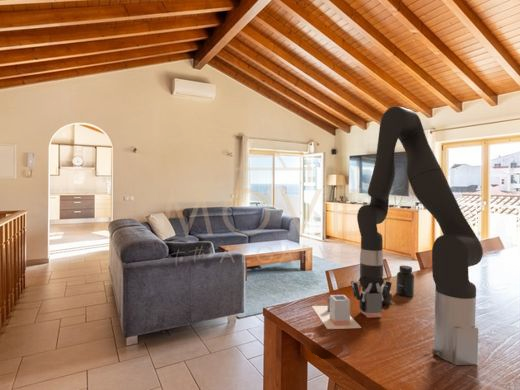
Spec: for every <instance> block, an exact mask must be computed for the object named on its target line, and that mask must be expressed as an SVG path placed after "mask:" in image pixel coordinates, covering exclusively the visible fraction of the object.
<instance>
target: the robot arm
mask: <svg viewBox="0 0 520 390" xmlns="http://www.w3.org/2000/svg"><path fill="white" fill-rule="evenodd" d="M421 120H422V119H420V116H419V115H418V113H416V112H415V111H413V110H411V109H408V108H405V107H402V106H397V105H395V106H394V105H393V106H391V107H389V108H387V110H385V111H384V112H383V115H382V117H381V119H380V122H379V123H380V124H379V128H378V129H379V130H378V137H377V138H378V140H377V147H376V153H375V154H376V155H375V160H374V166H373V171H372V173H371V177H370V181H369V186H368V188H367V195H368V196H369V197H370V202H369V204H364V205H361V206H360V208H358V210H357V214H356V220H357V225H358V231H359V233H360V253H359V278H358V280H356V281H354V280H351V281H350V283H351V284H350V285H351V288H352V289H351V290H352V292H353V297H354V298H355V299H356V300H357V301H359V309H360V312H361V311H362V312H365V311H366V302H365V300H366V293H369V292H378V293H382V310H383V308H384V306H383V300H384V299H388V297H389V293H390V290H391V288H392V284H393V283H392V282H391V281H389V280H388V279H386V280H384V277H383V276H384V253H383V252H384V251H383V249H384V248H383V247H384V246H383V245H384V244H383V241H384V240H383V235H382V234H381V232H378V226H377V225H379V224H382V223H383V222H384V221H385V220H386V218H387V216H388V213H389V205H390V204H389V200H390V198H389V197H390V194H391V192H392V188H393V184H394V181H395V176H396V167H395V166H396V164H395V150H396V146H397V143H398V140H399V142H400V143H401V145H402V148H403V149H404V152H405V154H406V159H407V160H406V175H407V178H408V182H409V185H410V187H411V189H412V193H414V196H415V197H416V198H417V200H418V202H419V203H420V204H421V205H422V206H423V207H424V209H426V210H427V211H428V212H429V213H430V215H432V216H433V218H434V219H435V220H436V222H437V223H438V225H439V227H440V230H441V232H442V235H440V236H437V238H436V239H435V240H434V241H433V244H432V249H431V266H432V267H431V269H432V270H431V271H432V273H431V274H432V279H433V282H434V285H435V291H434V293H435V296H434V329H433V331H434V332H433V341H434V342H433V349H434V351H436V352H437V353H436V352H435V355H436V356H438V357H439V358H441V359H442V360H444V361H447V362H450V363H452V364H453V365H455V366H466V365H467V366H468V365H478V353H479V351H478V350H479V348H478V347H479V345H478V342H479V328H478V327H477V326H476V307H477V306H476V305H477V303H476V302H477V287H476V285H475V283H473V282H471V281H470V279H469V278H470V277H469V276H470V275H469V267H473V266H475V265H478V264H479V263H480V262H481V261H482V259H483V256H484V250H483V246H482V244H481V242H480V240H479V238H478V235H476V233H475V231H474V230H473V228H472V227H471V224H470V223H469V222H468V220H467V218H466V217H465V216H464V214H463V213H464V212H462V210H461V208H460V205H459V203H458V201H457V198H456V197H455V194H454V193H453V191H452V189H451V186H450V185H449V182H448V180H447V178H446V176H445V173H444V171H443V169H442V167H441V166H440V165H441V164H440V163H439V161H438V160H437V158H436V156H435V153H434V152H433V149H432V148H431V145H430V144H429V141H428V139H427V136H426V132H425V130H424V126H423V124H422V121H421ZM360 285H361V288H360ZM382 285H383V286H384V287H383V291H382V292H381V289H380V288H381V286H382ZM359 288H360V291H359ZM364 290H365V292H364ZM362 312H361V313H362Z"/></svg>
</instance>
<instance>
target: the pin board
mask: <svg viewBox="0 0 520 390" xmlns="http://www.w3.org/2000/svg"><path fill="white" fill-rule="evenodd" d="M311 307H312V309H313V310H314V311H315V313H316V314H317V316H318V317H319V319H320V321H322V324H323V325H324V326H325V327H326V329H327V330H336V329H337V330H340V329H342V330H343V329H344V330H345V329H362V327H361V325H360V324H359V323H358V322H357V321H356V320H355V319H354V318H353V317H352V316H351V315H350V325H340V326H335V325H334V324H333V323H332V321H331V320H330V296H328V297H327V305H312V306H311Z"/></svg>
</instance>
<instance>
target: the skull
mask: <svg viewBox="0 0 520 390" xmlns="http://www.w3.org/2000/svg"><path fill="white" fill-rule="evenodd" d="M383 287H384V286H383V285H382V286H381V288H380V289H381V292H382V291H383ZM394 305H396V301H394V300H393V292H392V291H391V289H390V293H389V297H388V299H384V300H383V307H385V306H394Z"/></svg>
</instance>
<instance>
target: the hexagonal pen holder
mask: <svg viewBox="0 0 520 390" xmlns="http://www.w3.org/2000/svg"><path fill="white" fill-rule="evenodd" d="M329 297H330V320H331V321H332V323H333V324H334V325H335V326H340V325H350V316H351V299H349V298H348V297H347V296H346V295H345V294H330V295H329Z"/></svg>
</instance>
